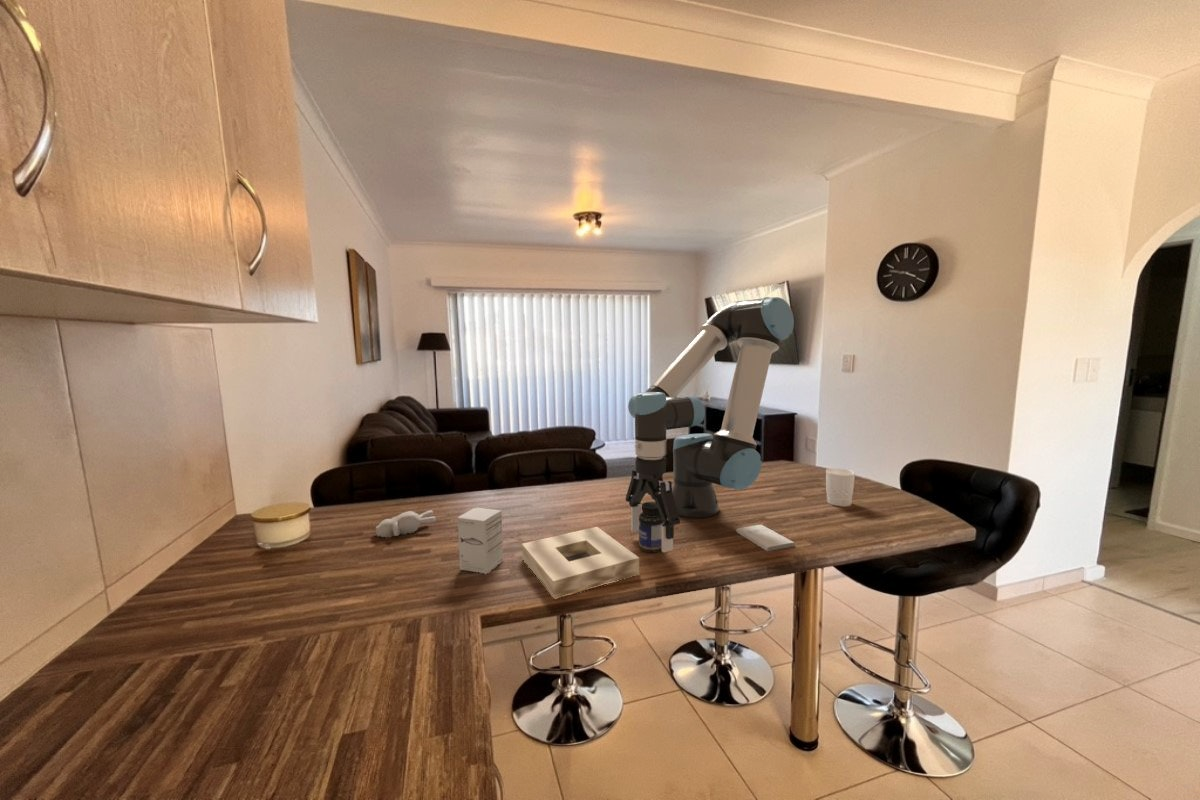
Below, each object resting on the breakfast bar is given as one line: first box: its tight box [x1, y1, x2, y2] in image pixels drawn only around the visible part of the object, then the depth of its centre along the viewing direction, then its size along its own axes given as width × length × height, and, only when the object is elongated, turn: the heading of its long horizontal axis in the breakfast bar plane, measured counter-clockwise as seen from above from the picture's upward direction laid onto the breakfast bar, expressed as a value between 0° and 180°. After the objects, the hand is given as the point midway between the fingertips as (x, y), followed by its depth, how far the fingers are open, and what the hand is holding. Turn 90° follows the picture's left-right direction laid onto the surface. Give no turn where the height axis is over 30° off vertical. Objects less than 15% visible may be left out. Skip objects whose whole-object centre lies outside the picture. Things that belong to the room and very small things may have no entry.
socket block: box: [521, 526, 640, 599], centre depth 103 cm, size 20×20×4 cm
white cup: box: [825, 467, 856, 507], centre depth 140 cm, size 8×8×10 cm
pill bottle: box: [638, 501, 664, 553], centre depth 112 cm, size 6×6×11 cm
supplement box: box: [457, 507, 504, 575], centre depth 104 cm, size 7×7×13 cm
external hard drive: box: [736, 524, 796, 552], centre depth 116 cm, size 2×8×12 cm
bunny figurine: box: [375, 509, 437, 538], centre depth 126 cm, size 10×5×15 cm
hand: (651, 540), depth 112 cm, fingers open, 13 cm apart
